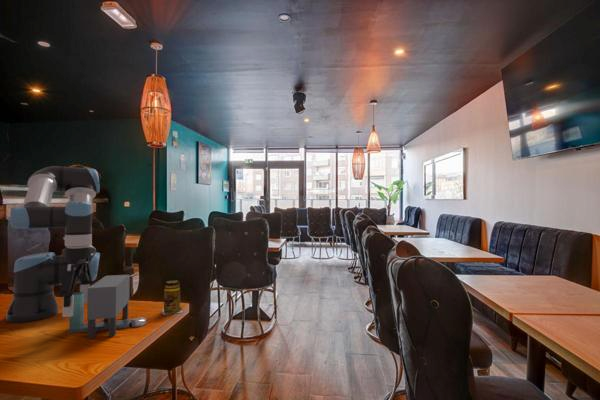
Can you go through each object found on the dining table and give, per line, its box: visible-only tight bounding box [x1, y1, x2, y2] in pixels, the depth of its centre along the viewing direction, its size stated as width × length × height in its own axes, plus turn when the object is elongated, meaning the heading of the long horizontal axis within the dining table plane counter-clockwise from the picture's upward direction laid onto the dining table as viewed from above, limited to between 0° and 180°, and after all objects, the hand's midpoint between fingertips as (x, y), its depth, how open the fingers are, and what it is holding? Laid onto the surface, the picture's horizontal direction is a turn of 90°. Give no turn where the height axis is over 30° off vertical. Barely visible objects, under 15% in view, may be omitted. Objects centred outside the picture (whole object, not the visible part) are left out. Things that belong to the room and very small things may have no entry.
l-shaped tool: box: [67, 291, 133, 334], centre depth 106 cm, size 18×5×12 cm, turn 106°
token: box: [130, 316, 147, 328], centre depth 109 cm, size 5×5×2 cm
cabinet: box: [86, 274, 131, 340], centre depth 107 cm, size 18×8×16 cm, turn 17°
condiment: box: [161, 280, 183, 316], centre depth 124 cm, size 7×8×12 cm
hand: (76, 309), depth 104 cm, fingers open, 13 cm apart
